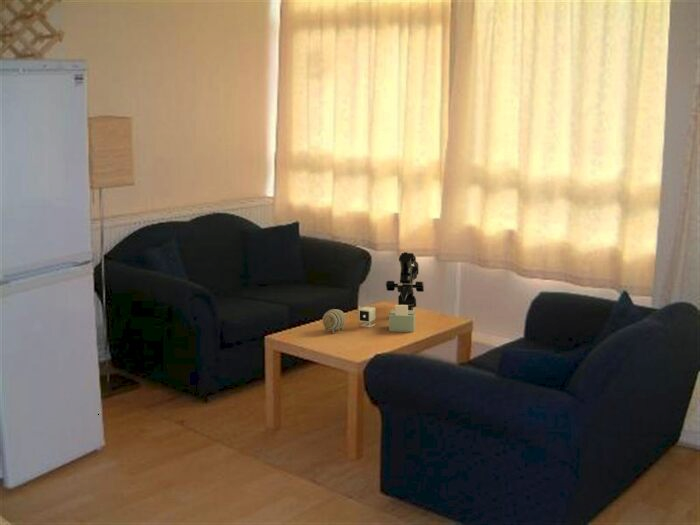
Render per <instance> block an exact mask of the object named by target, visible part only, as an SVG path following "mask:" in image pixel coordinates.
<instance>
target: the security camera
mask: <svg viewBox="0 0 700 525" xmlns="http://www.w3.org/2000/svg"><path fill="white" fill-rule="evenodd" d="M375 320H376V307H371V306H364V307H361V308H360V309H358V321H359V322H360V323H363V324H361V325H360V327H365V328H372V327H374V326H376V323H372V322H373V321H375Z"/></svg>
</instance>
